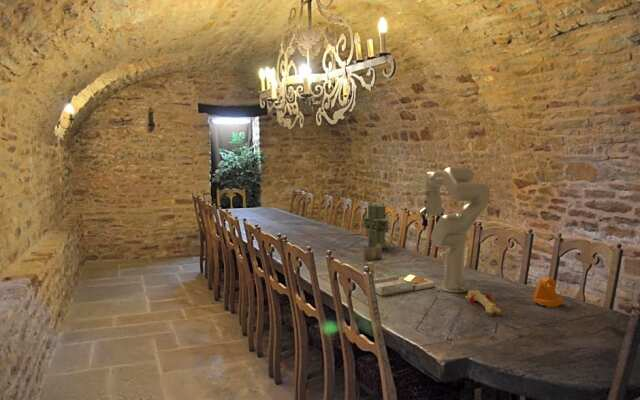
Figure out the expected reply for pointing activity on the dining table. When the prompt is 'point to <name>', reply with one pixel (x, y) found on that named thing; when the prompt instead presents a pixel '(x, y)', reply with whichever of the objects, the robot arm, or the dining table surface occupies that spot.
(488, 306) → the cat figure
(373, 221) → the religious sculpture
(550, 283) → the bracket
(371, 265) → the scraper
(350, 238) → the dining table surface
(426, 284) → the tray
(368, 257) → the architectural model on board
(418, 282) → the chip
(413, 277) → the chip
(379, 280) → the channel
